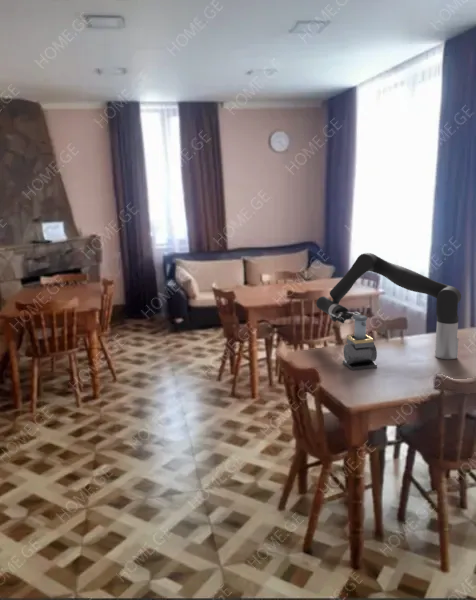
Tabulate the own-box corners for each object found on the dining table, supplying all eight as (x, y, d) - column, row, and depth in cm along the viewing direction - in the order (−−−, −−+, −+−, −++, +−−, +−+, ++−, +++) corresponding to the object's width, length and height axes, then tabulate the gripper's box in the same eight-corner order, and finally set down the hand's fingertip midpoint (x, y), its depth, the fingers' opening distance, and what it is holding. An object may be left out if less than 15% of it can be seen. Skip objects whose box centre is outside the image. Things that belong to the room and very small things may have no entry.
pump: (351, 338, 231) (352, 315, 228) (363, 337, 232) (363, 314, 229) (358, 343, 224) (358, 319, 221) (369, 342, 225) (370, 318, 222)
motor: (367, 360, 237) (367, 333, 234) (377, 367, 227) (377, 339, 224) (343, 363, 234) (343, 335, 232) (352, 370, 225) (352, 341, 222)
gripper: (324, 306, 248) (337, 313, 233) (351, 304, 251) (366, 311, 236) (324, 320, 250) (337, 329, 235) (351, 318, 253) (366, 326, 237)
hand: (352, 320), depth 235 cm, fingers open, 8 cm apart
